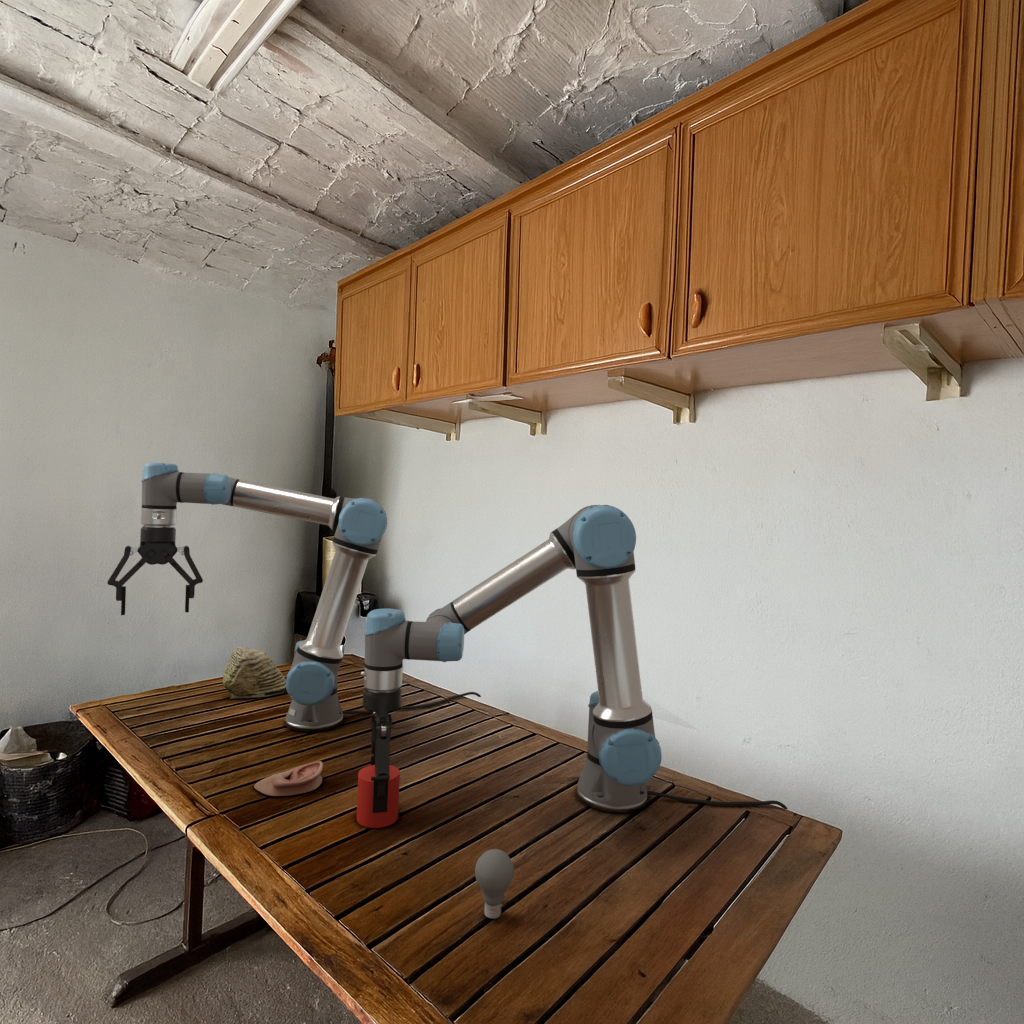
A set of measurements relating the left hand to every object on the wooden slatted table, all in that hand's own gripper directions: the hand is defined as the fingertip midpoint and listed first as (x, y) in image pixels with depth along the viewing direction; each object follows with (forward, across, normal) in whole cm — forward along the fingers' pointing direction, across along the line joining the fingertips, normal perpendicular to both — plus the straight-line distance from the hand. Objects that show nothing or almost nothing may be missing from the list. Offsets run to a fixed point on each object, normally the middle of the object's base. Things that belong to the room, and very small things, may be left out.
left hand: (155, 613), depth 155 cm
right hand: (+29, +40, -56) cm, 74 cm away
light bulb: (+33, +46, -92) cm, 109 cm away
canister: (+33, +40, -56) cm, 76 cm away
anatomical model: (+33, +26, -35) cm, 55 cm away
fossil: (+33, +28, +33) cm, 54 cm away
